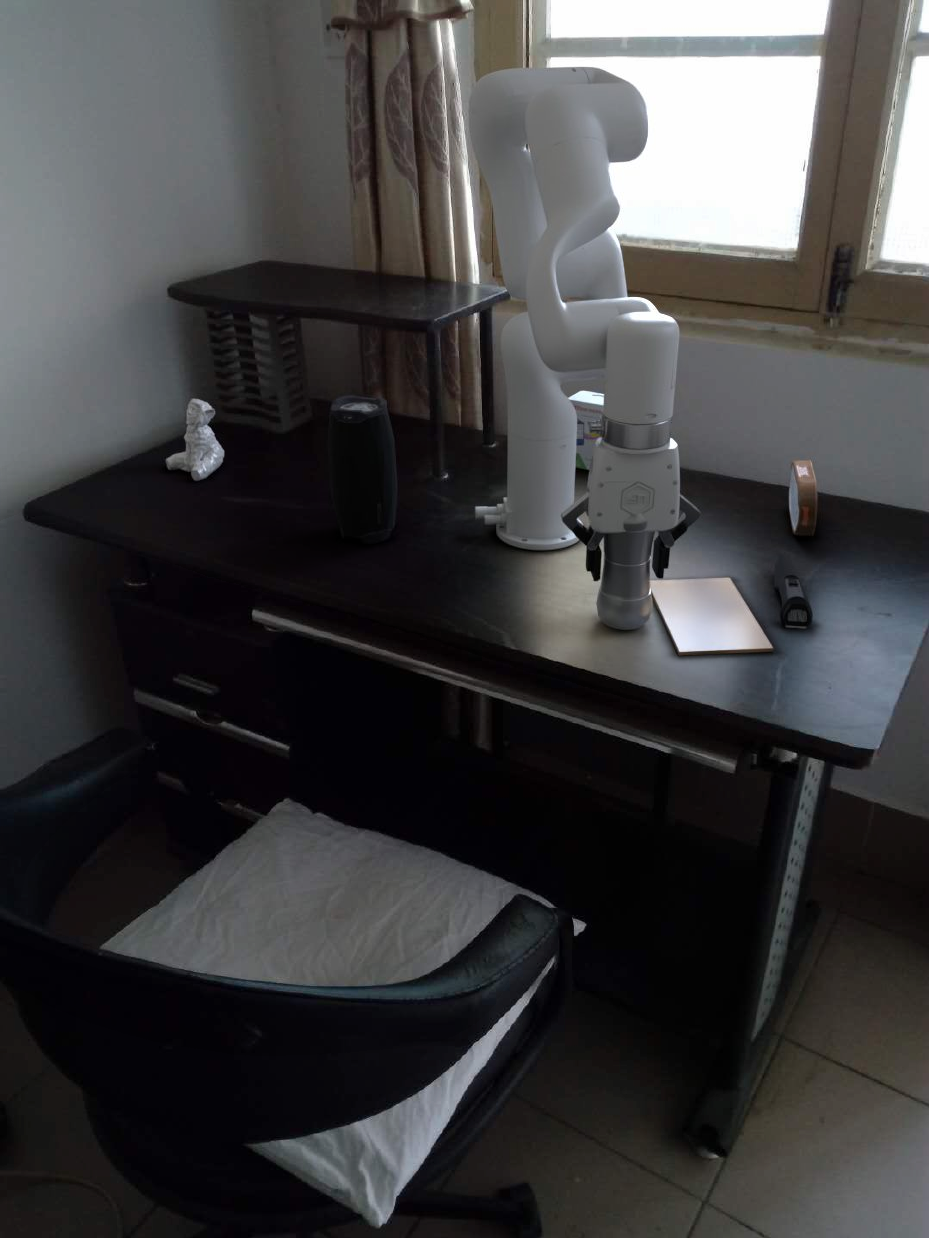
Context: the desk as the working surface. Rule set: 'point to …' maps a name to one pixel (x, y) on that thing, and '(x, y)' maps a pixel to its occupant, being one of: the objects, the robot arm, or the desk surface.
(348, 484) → the portable speaker
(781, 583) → the electric trimmer
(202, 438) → the sitting furry creature
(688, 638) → the wooden board
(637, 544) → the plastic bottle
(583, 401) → the ink box
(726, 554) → the desk surface
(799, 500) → the tin
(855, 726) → the desk surface
